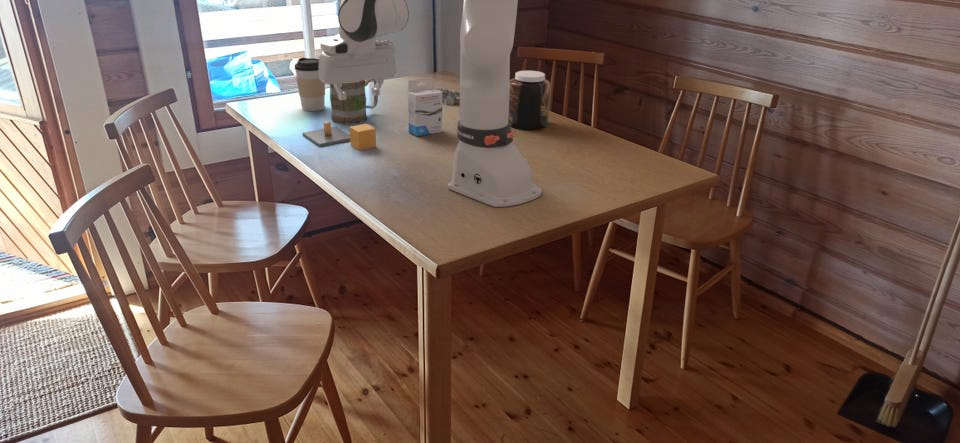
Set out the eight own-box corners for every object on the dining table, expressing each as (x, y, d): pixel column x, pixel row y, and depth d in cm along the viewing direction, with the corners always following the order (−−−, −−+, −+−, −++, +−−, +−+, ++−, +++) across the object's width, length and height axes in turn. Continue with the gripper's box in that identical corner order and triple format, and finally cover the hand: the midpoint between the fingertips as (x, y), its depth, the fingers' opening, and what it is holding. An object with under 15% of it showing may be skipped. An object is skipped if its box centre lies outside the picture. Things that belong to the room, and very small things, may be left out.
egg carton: (465, 103, 218) (466, 91, 216) (446, 106, 214) (446, 94, 212) (447, 95, 226) (447, 83, 224) (428, 98, 222) (428, 86, 220)
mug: (342, 126, 193) (339, 85, 187) (323, 117, 200) (320, 77, 195) (388, 116, 202) (387, 77, 197) (368, 108, 209) (366, 70, 204)
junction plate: (354, 140, 182) (353, 124, 180) (319, 146, 177) (318, 131, 175) (336, 129, 190) (335, 114, 188) (302, 135, 185) (301, 120, 183)
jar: (518, 132, 191) (521, 80, 185) (500, 120, 201) (502, 70, 194) (554, 128, 196) (558, 76, 189) (535, 116, 205) (538, 67, 199)
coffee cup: (334, 107, 210) (330, 58, 203) (313, 113, 203) (308, 64, 197) (313, 102, 214) (309, 54, 208) (292, 108, 207) (287, 59, 201)
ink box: (416, 137, 186) (415, 84, 179) (408, 132, 189) (406, 80, 183) (443, 132, 190) (443, 80, 184) (434, 127, 194) (433, 76, 187)
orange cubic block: (376, 146, 178) (375, 128, 176) (359, 150, 175) (358, 131, 173) (367, 141, 181) (366, 123, 179) (350, 144, 179) (349, 126, 177)
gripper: (388, 37, 175) (389, 89, 181) (314, 43, 164) (317, 99, 170) (400, 41, 170) (400, 95, 176) (325, 48, 159) (328, 105, 165)
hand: (359, 97), depth 173 cm, fingers open, 8 cm apart
